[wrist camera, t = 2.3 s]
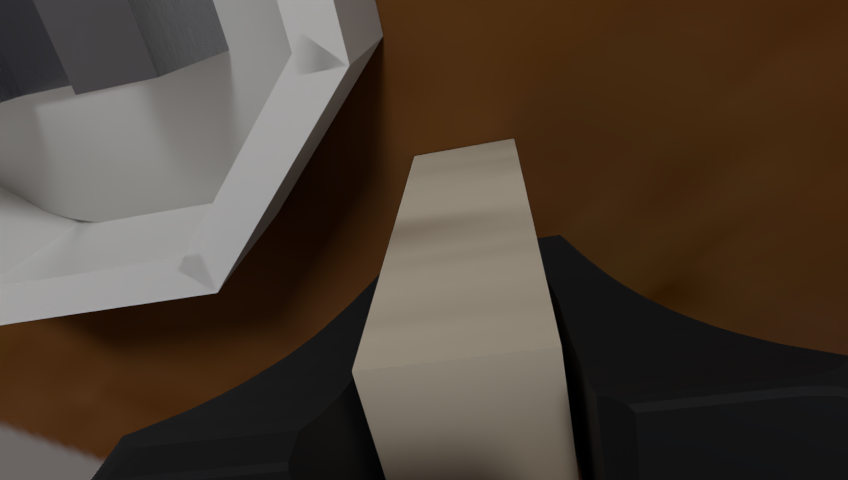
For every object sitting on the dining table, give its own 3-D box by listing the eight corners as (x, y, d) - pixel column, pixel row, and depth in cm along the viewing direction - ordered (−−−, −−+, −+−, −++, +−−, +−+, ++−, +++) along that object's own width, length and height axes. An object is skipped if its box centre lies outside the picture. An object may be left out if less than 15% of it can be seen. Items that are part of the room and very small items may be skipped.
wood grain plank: (541, 330, 15) (600, 645, 8) (455, 340, 15) (441, 653, 8) (513, 138, 13) (562, 346, 6) (414, 156, 13) (351, 371, 6)
